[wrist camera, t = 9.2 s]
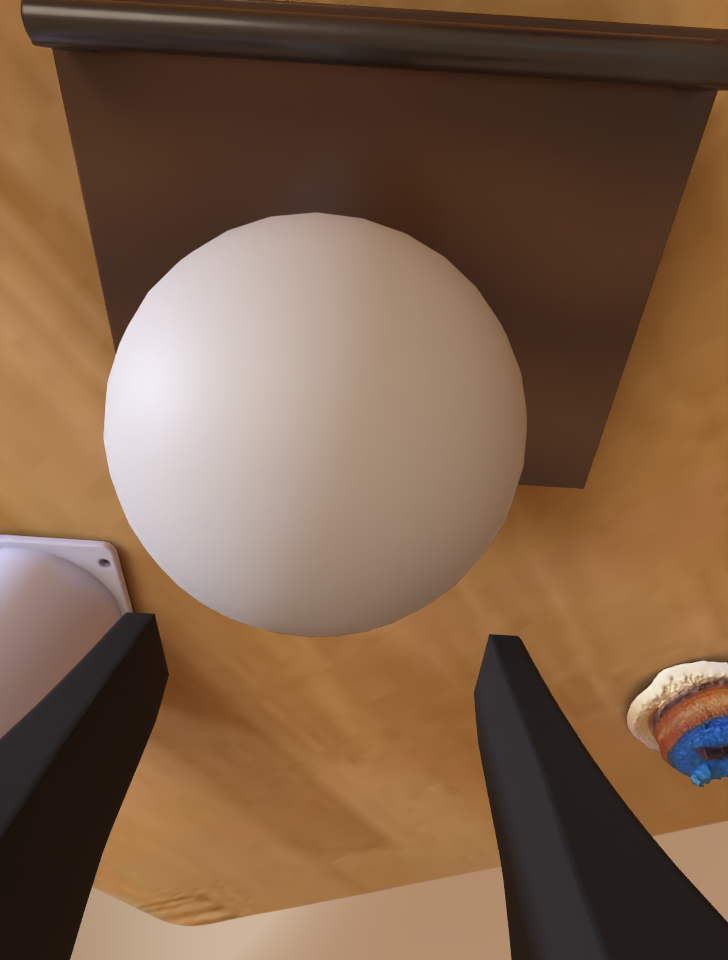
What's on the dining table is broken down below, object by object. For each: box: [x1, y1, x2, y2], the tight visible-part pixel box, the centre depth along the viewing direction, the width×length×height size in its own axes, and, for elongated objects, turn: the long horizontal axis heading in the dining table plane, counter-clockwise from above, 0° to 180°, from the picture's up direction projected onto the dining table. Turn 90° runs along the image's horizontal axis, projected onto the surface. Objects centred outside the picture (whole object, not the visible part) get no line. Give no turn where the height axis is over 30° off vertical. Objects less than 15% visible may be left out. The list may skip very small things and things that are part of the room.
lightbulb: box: [104, 213, 527, 637], centre depth 11 cm, size 6×6×11 cm
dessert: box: [627, 661, 728, 787], centre depth 28 cm, size 8×7×6 cm
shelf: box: [21, 0, 728, 489], centre depth 16 cm, size 12×15×4 cm
